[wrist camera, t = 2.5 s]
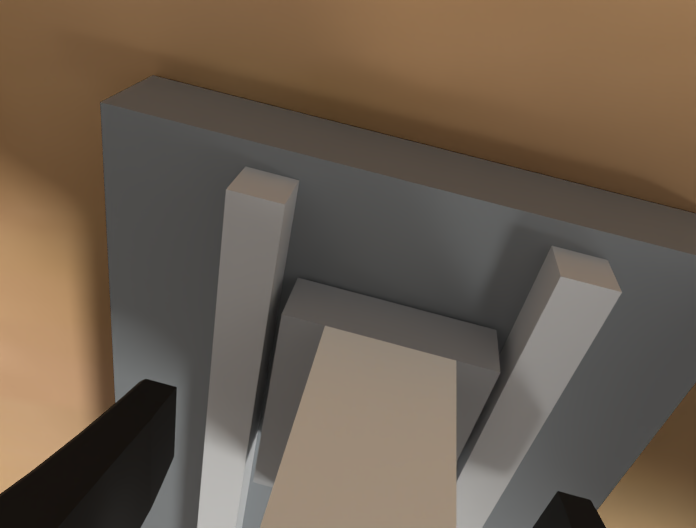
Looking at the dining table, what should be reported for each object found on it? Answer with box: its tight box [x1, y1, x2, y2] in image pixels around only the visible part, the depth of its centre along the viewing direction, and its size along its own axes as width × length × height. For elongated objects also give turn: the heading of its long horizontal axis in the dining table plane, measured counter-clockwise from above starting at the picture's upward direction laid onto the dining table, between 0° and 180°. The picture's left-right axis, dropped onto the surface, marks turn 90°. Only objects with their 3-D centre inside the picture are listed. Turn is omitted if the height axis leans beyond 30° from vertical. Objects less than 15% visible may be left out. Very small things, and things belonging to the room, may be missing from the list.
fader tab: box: [253, 278, 501, 528], centre depth 10 cm, size 4×5×6 cm
